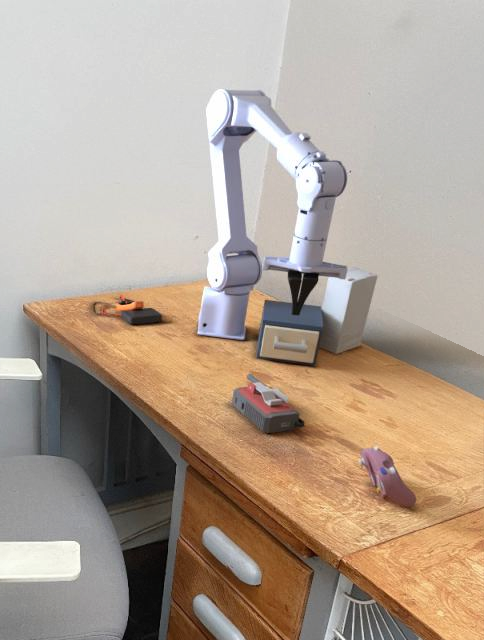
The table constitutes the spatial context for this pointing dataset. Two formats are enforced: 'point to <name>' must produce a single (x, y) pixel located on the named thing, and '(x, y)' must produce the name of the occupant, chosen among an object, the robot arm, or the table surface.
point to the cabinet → (290, 323)
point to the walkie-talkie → (266, 407)
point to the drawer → (289, 343)
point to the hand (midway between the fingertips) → (295, 313)
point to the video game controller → (386, 476)
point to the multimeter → (135, 312)
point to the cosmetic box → (346, 310)
